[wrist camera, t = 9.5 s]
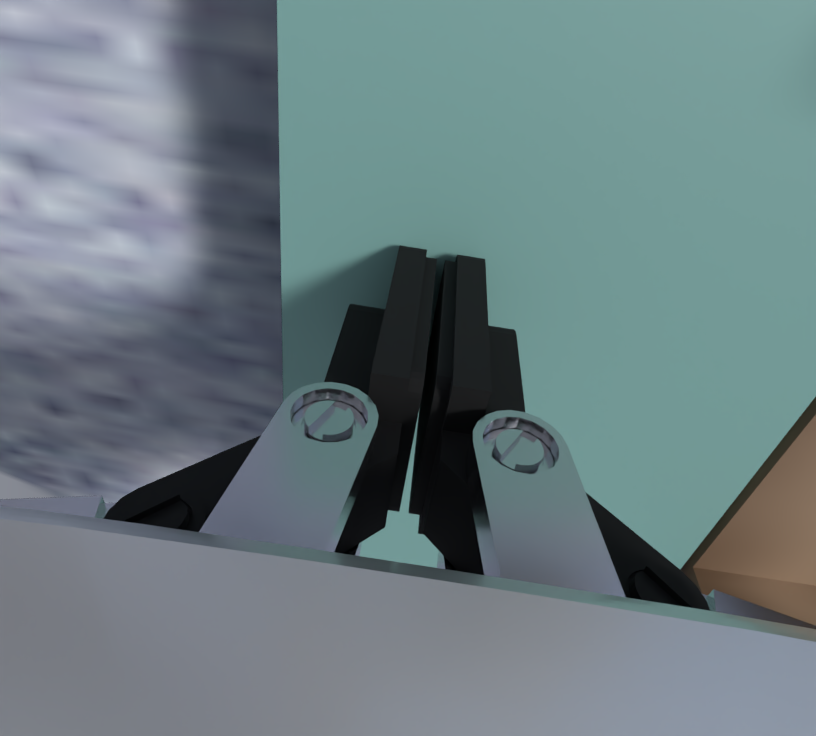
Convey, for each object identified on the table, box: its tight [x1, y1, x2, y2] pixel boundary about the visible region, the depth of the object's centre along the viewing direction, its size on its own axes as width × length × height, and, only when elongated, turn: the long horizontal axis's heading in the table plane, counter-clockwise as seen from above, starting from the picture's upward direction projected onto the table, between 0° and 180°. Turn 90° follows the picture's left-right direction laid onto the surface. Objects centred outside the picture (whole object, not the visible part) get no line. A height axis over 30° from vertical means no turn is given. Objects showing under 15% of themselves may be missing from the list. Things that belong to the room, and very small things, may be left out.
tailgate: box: [277, 0, 816, 569], centre depth 12 cm, size 1×18×12 cm
